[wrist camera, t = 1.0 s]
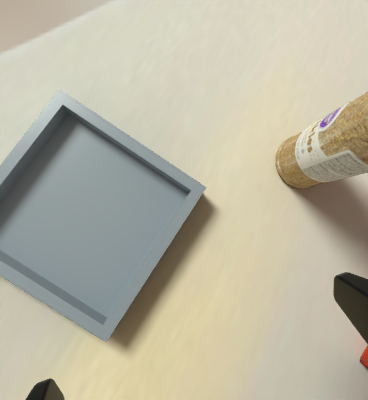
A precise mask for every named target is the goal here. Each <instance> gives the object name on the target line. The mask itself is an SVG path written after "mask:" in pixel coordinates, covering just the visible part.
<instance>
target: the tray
mask: <svg viewBox="0 0 368 400" xmlns="http://www.w3.org/2000/svg"><path fill="white" fill-rule="evenodd" d="M205 189H206V187H205V186H203V185H202V184H200V183H199V182H197V181H196V180H194V179H193V178H191V177H190V176H188V175H187V174H185V173H184V172H183V171H181V170H180V169H178V168H177V167H175V166H174V165H172V164H171V163H169V162H168V161H166V160H165V159H163V158H162V157H160V156H159V155H157V154H156V153H154V152H153V151H151V150H150V149H148V148H147V147H145V146H144V145H142V144H141V143H139V142H138V141H136V140H135V139H133V138H132V137H130V136H129V135H127V134H126V133H124V132H123V131H121V130H120V129H118V128H117V127H115V126H114V125H112V124H111V123H109V122H108V121H106V120H105V119H103V118H102V117H100V116H99V115H97V114H96V113H94V112H93V111H91V110H90V109H88V108H87V107H85V106H84V105H82V104H81V103H79V102H78V101H76V100H75V99H73V98H72V97H70V96H69V95H67V94H66V93H64V92H63V91H61V90H59V91H58V92H57V94H56V95H55V96H54V97H53V99H52V100H51V101H50V103H49V104H48V105H47V106H46V108H45V109H44V110H43V112H42V113H41V114H40V115H39V117H38V118H37V119H36V121H35V122H34V123H33V124H32V126H31V127H30V128H29V129H28V131H27V132H26V133H25V135H24V136H23V137H22V138H21V140H20V141H19V142H18V144H17V145H16V146H15V147H14V149H13V150H12V151H11V153H10V154H9V155H8V156H7V158H6V159H5V160H4V161H3V163H2V164H1V165H0V276H2V277H3V278H5V279H6V280H8V281H10V282H11V283H13V284H14V285H16V286H18V287H19V288H21V289H22V290H24V291H26V292H27V293H29V294H30V295H32V296H33V297H35V298H37V299H38V300H40V301H41V302H43V303H45V304H46V305H48V306H49V307H51V308H52V309H54V310H56V311H57V312H59V313H60V314H62V315H64V316H65V317H67V318H68V319H70V320H72V321H73V322H75V323H76V324H78V325H79V326H81V327H83V328H84V329H86V330H87V331H89V332H91V333H92V334H94V335H95V336H97V337H99V338H100V339H102V340H103V341H105V342H107V340H108V339H109V337H110V336H111V334H112V333H113V331H114V330H115V328H116V326H117V325H118V323H119V322H120V320H121V319H122V317H123V316H124V314H125V313H126V311H127V309H128V308H129V306H130V305H131V303H132V302H133V300H134V299H135V297H136V296H137V294H138V292H139V291H140V289H141V288H142V286H143V285H144V283H145V282H146V280H147V279H148V277H149V276H150V274H151V272H152V271H153V269H154V268H155V266H156V265H157V263H158V262H159V260H160V259H161V257H162V255H163V254H164V252H165V251H166V249H167V248H168V246H169V245H170V243H171V242H172V240H173V238H174V237H175V235H176V234H177V232H178V231H179V229H180V228H181V226H182V225H183V223H184V221H185V220H186V218H187V217H188V215H189V214H190V212H191V211H192V209H193V208H194V206H195V204H196V203H197V201H198V200H199V198H200V197H201V195H202V194H203V192H204V191H205Z"/></svg>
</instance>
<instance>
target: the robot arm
mask: <svg viewBox="0 0 368 400" xmlns="http://www.w3.org/2000/svg"><path fill="white" fill-rule="evenodd" d="M334 298H335V300H336V302H337V303H338V305H339V306H340V308H341V309H342V310H343V312H344V313H345V314H346V316H347V317H348V318H349V320H350V321H351V322H352V324H353V325H354V327H355V328H356V329H357V331H358V332H359V333H360V335H361V336H362V337H363V339H364V340H365V341H366V343H367V344H368V279H365V278H363V277H360V276H357V275H354V274H351V273H348V272H345V273H342V274H339V275H336V276H335V278H334ZM26 400H64V396H63V394H62V392H61V391H60V389H59V387H58V386H57V384H56V383H55V381H54V380H53V379H47V380H44V381H41V382H39V383H37V384H36V385H35V386H34V387H33V389H32V390H31V392H30V393H29V395H28V396H27V398H26Z"/></svg>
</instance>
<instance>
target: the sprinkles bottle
mask: <svg viewBox="0 0 368 400" xmlns="http://www.w3.org/2000/svg"><path fill="white" fill-rule="evenodd" d="M276 167H277V171H278V173H279V174H280V176H281V177H282V179H283V180H284V181H285V182H286V183H287V184H289V185H291V186H293V187H296V188H309V187H311V186H314V185H316V184H319V183H323V182H331V181H335V180H339V179H343V178H347V177H351V176H355V175H359V174H364V173H368V92H367V93H365V94H364V95H362V96H360V97H358V98H357V99H355V100H354V101H352V102H349V103H347V104H345V105H344V106H342V107H340V108H339V109H337V110H336V111H334V112H332V113H331V114H329V115H327V116H326V117H324V118H322V119H321V120H319V121H317V122H316V123H314V124H312V125H311V126H309V127H308V128H306V129H305V130H304V131H303V132H301V133H299V134H298V135H296V136H293V137H290V138H288V139H287V140H285V141H284V142H283V143H282V144H281V145H280V147H279V148H278V151H277V154H276Z"/></svg>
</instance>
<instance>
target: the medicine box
mask: <svg viewBox="0 0 368 400" xmlns="http://www.w3.org/2000/svg"><path fill="white" fill-rule="evenodd" d="M360 362H361V363H362V364H363V365H364V366H366V367H367V368H368V346H367V347H366V349H365V351H364V352H363V354H362V356H361V358H360Z"/></svg>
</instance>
